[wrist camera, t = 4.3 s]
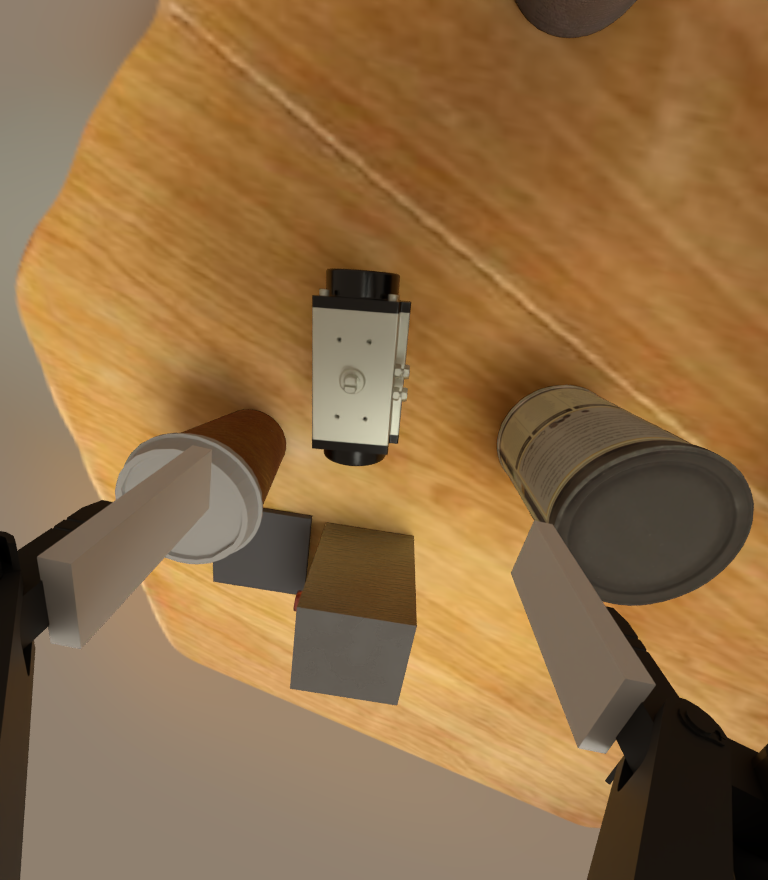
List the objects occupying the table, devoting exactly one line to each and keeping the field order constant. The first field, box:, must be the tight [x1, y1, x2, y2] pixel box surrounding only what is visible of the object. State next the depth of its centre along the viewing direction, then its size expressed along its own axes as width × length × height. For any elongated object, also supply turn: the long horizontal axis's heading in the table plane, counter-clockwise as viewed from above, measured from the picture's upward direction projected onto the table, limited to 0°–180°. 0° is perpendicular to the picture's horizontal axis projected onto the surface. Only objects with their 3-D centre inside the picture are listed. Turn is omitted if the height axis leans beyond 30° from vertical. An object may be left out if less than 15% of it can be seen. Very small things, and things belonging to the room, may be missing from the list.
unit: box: [290, 522, 417, 705], centre depth 34 cm, size 9×10×11 cm
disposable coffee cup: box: [115, 409, 286, 564], centre depth 29 cm, size 10×10×12 cm
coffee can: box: [497, 385, 754, 606], centre depth 27 cm, size 10×10×14 cm
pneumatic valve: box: [312, 269, 411, 466], centre depth 26 cm, size 6×12×12 cm, turn 176°
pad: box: [213, 508, 312, 595], centre depth 39 cm, size 10×10×1 cm
